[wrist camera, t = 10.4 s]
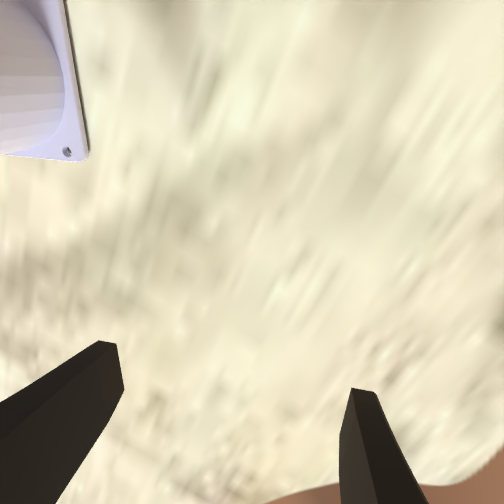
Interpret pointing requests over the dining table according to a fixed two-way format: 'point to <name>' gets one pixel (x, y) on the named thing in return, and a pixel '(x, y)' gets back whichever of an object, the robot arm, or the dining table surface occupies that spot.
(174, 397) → the dining table surface
